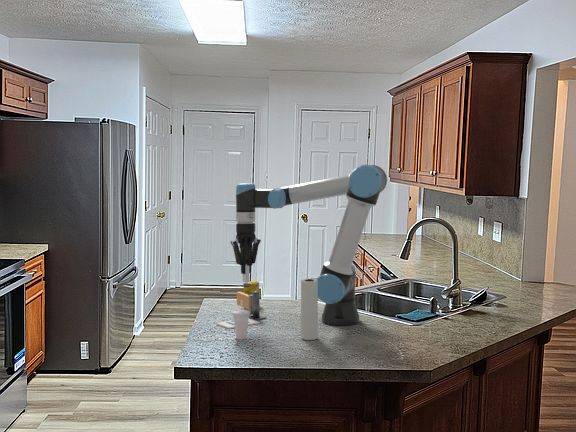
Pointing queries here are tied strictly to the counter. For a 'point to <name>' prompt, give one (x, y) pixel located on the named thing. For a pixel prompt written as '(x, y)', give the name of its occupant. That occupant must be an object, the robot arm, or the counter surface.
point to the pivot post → (256, 307)
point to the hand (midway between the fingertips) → (246, 281)
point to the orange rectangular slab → (245, 301)
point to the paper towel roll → (309, 309)
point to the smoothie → (241, 323)
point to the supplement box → (250, 287)
